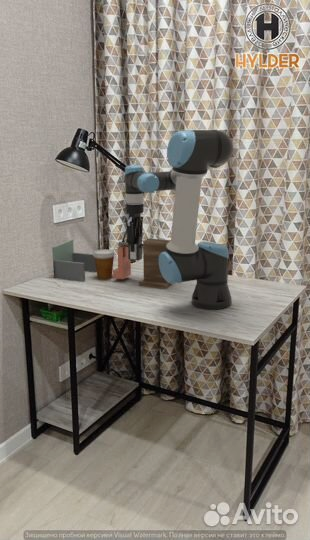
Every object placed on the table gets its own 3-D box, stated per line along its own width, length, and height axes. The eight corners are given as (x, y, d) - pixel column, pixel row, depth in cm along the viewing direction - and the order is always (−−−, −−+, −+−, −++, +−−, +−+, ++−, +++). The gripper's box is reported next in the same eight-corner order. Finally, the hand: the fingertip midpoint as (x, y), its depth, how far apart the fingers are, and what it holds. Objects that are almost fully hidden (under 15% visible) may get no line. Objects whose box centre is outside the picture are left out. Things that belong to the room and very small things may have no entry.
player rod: (179, 285, 220) (179, 242, 215) (113, 278, 231) (111, 236, 226) (185, 280, 227) (186, 238, 222) (120, 273, 238) (119, 232, 233)
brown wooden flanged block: (165, 289, 220) (166, 244, 215) (139, 286, 225) (138, 242, 219) (175, 281, 231) (175, 238, 226) (149, 278, 235) (149, 236, 230)
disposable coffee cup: (117, 275, 241) (116, 249, 238) (113, 281, 232) (112, 254, 228) (96, 274, 242) (95, 248, 238) (91, 280, 233) (90, 254, 229)
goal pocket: (83, 281, 231) (82, 250, 228) (54, 277, 237) (52, 247, 233) (101, 271, 246) (100, 242, 242) (72, 268, 251) (71, 239, 248)
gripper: (134, 200, 231) (134, 252, 237) (118, 205, 216) (119, 261, 223) (150, 201, 228) (150, 254, 235) (134, 206, 214) (135, 263, 220)
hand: (135, 257), depth 229 cm, fingers closed on player rod, 3 cm apart
